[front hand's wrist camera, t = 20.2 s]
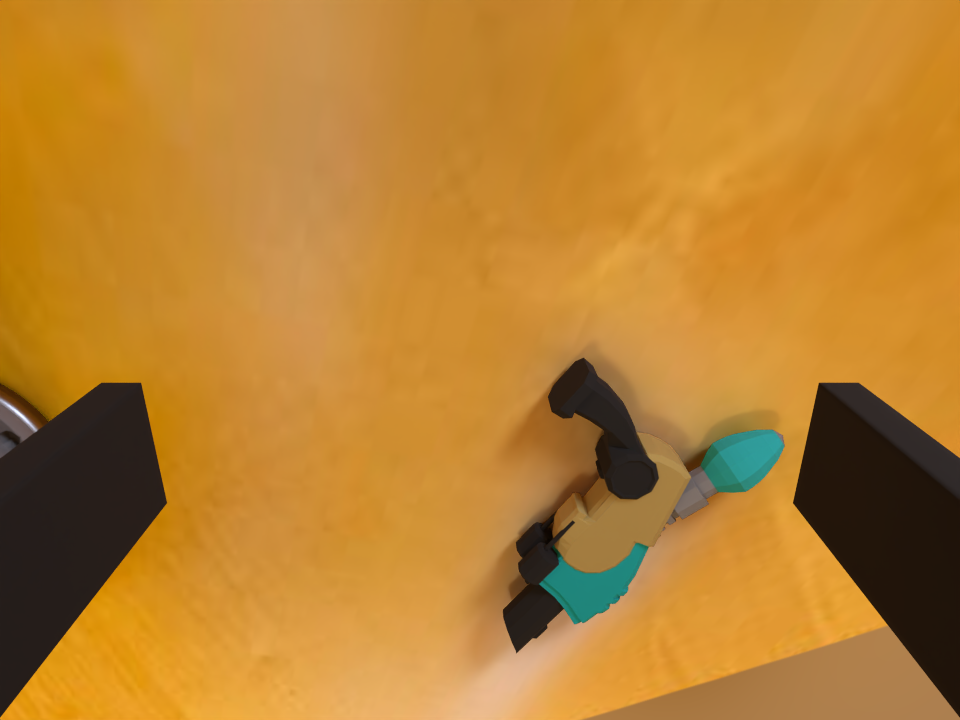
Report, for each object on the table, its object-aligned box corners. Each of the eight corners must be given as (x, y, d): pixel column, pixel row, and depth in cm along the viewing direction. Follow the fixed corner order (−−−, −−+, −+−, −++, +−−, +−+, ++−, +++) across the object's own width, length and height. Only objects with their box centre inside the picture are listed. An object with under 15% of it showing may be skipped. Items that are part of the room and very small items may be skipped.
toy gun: (389, 595, 46) (549, 691, 49) (641, 324, 38) (808, 460, 42) (396, 555, 50) (543, 646, 53) (625, 303, 42) (778, 428, 46)
